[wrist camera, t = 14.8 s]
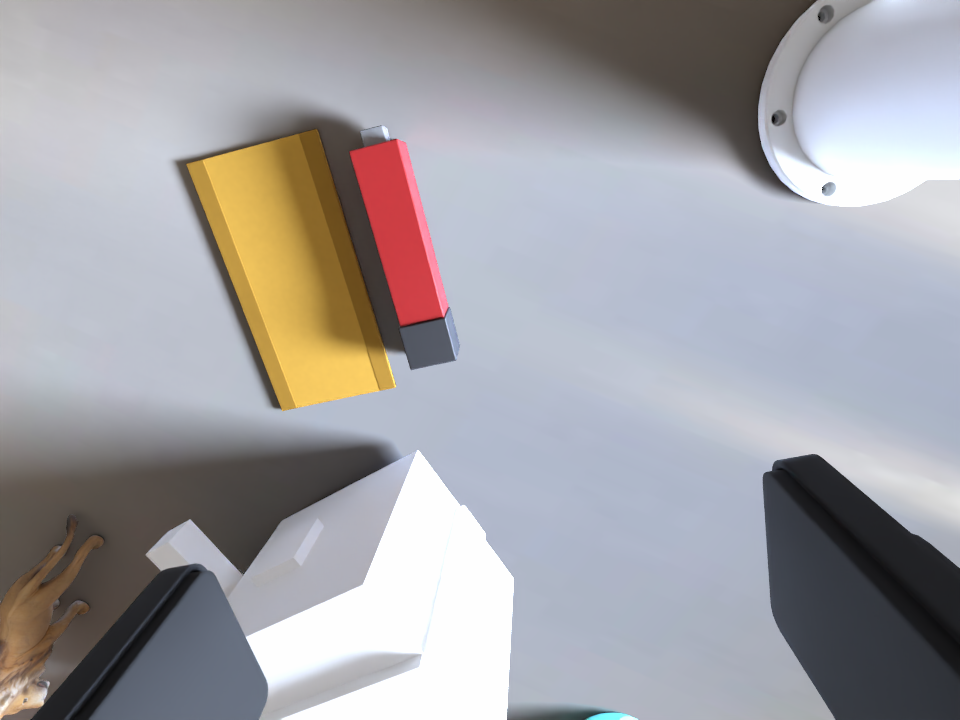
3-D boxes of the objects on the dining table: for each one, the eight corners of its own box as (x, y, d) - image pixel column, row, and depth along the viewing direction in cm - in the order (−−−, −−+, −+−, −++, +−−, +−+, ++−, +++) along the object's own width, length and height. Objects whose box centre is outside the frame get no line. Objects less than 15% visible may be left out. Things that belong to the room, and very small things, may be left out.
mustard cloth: (317, 129, 33) (315, 128, 32) (396, 385, 38) (395, 387, 38) (188, 164, 34) (185, 163, 33) (283, 409, 39) (282, 411, 39)
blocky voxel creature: (138, 526, 45) (387, 383, 38) (311, 703, 52) (554, 612, 44) (-34, 685, 32) (302, 511, 24) (231, 899, 38) (562, 815, 30)
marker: (403, 125, 32) (393, 118, 29) (460, 346, 37) (456, 360, 34) (355, 137, 33) (340, 133, 30) (417, 355, 37) (410, 370, 34)
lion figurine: (102, 644, 48) (17, 744, 39) (45, 631, 47) (-54, 729, 39) (107, 517, 43) (11, 599, 34) (43, 501, 43) (-70, 581, 34)
